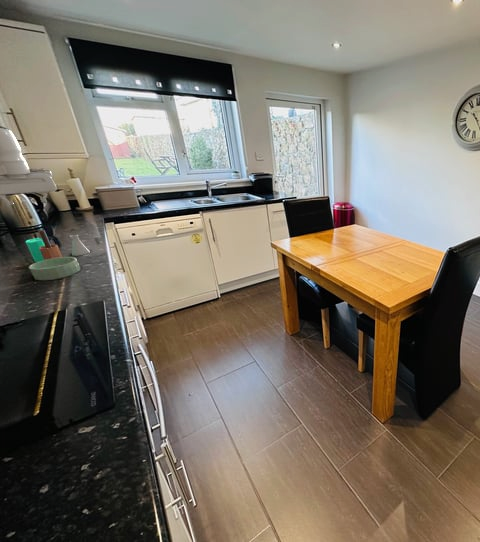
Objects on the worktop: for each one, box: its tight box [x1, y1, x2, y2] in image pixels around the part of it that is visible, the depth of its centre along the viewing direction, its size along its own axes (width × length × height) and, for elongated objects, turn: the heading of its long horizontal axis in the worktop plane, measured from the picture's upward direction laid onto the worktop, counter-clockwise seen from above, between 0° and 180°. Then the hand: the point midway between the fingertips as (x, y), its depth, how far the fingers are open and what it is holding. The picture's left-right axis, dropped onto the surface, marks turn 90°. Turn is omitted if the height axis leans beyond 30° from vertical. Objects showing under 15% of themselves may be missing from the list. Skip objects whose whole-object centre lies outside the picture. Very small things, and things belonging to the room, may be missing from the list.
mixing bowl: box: [28, 256, 81, 281], centre depth 121 cm, size 14×14×6 cm
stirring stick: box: [37, 229, 52, 248], centre depth 128 cm, size 3×2×16 cm
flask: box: [69, 234, 91, 256], centre depth 142 cm, size 7×7×10 cm
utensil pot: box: [39, 244, 63, 260], centre depth 129 cm, size 6×6×9 cm
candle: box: [25, 236, 45, 263], centre depth 133 cm, size 6×6×12 cm
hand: (28, 204), depth 118 cm, fingers open, 8 cm apart
